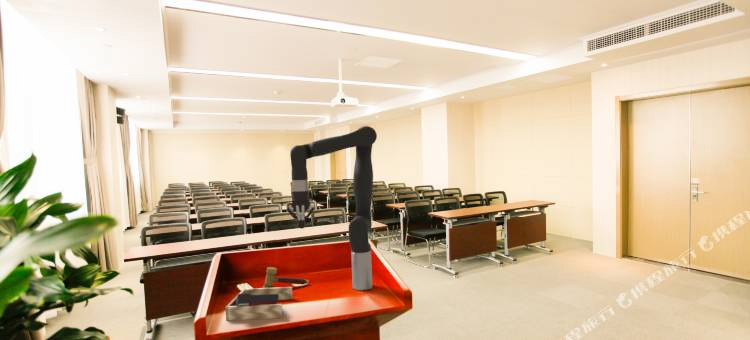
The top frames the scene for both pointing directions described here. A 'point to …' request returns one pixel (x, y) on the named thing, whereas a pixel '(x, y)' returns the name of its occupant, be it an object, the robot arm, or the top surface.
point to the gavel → (280, 279)
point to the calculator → (256, 299)
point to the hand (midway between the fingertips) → (301, 228)
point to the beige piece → (258, 310)
